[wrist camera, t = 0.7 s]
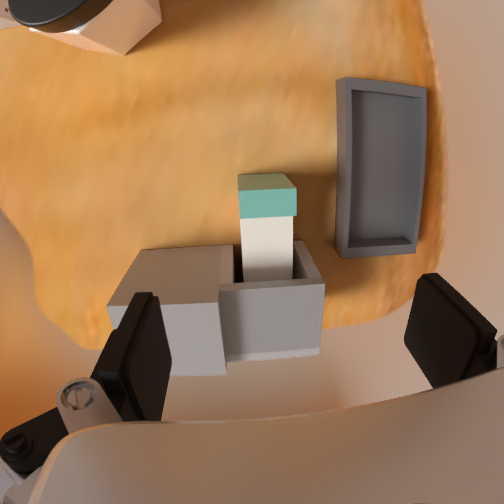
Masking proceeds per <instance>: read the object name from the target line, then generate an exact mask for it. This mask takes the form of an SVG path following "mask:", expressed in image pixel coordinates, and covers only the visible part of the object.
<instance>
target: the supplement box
mask: <svg viewBox="0 0 504 504" xmlns="http://www.w3.org/2000/svg"><path fill="white" fill-rule="evenodd" d="M19 25H21V24H20V23H18V22H17V21H16V20H15V19H14V18H13V17H12V15H11V13H10V11H9V7H8V0H0V29H5V28H10V27H14V26H19Z"/></svg>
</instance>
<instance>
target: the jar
mask: <svg viewBox="0 0 504 504" xmlns="http://www.w3.org/2000/svg"><path fill="white" fill-rule="evenodd" d="M8 7H9V11H10V13H11V15H12V17H13V18H14V19H15V20H16V21H17V22H18V23H20V24H21V25H24V26H27V27H30V31H32V32H35V33H39V34H42V35H45V36H48V37H51V38H54V39H56V40H59V41H62V42H65V43H68V44H71V45H73V46H76V47H79V48H81V49H85V50H92V51H99V52H105V53H111V54H116V55H122V56H123V55H125V54H126V53H127V52H128V51H129V50H130V49H131V48H132V47H134V46H135V45H136V44H137V43H138V42H139V41H140V40H141V39H142V38H144V37H145V36H146V35H147V34H148V33H149V32H151V31H152V30H153V29H154V28H155V27H156V26H158V25H159V24H160V23H161V22H162V17H161V10H160V4H159V0H8Z"/></svg>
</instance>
